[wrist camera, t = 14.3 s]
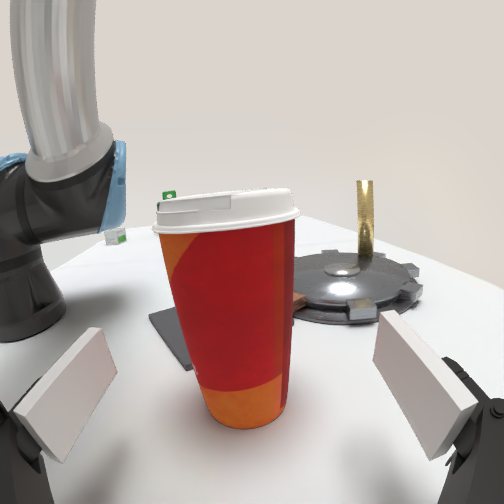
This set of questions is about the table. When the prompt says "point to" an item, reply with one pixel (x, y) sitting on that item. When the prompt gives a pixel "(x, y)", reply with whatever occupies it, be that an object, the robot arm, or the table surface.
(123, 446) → the table surface
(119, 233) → the small box
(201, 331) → the paper cup
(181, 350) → the marked pad
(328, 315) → the sprocket base
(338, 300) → the sprocket
